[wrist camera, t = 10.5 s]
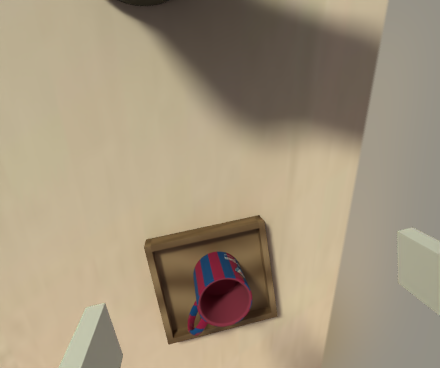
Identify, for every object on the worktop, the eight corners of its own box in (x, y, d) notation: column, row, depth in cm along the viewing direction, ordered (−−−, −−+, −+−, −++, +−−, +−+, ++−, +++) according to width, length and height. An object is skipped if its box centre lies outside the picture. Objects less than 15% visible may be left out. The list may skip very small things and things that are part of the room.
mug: (249, 270, 41) (263, 298, 35) (200, 318, 42) (205, 355, 35) (217, 241, 40) (225, 265, 33) (166, 292, 40) (165, 325, 34)
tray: (146, 239, 39) (144, 247, 37) (259, 215, 41) (264, 221, 39) (168, 331, 43) (168, 344, 40) (271, 305, 45) (277, 316, 42)
